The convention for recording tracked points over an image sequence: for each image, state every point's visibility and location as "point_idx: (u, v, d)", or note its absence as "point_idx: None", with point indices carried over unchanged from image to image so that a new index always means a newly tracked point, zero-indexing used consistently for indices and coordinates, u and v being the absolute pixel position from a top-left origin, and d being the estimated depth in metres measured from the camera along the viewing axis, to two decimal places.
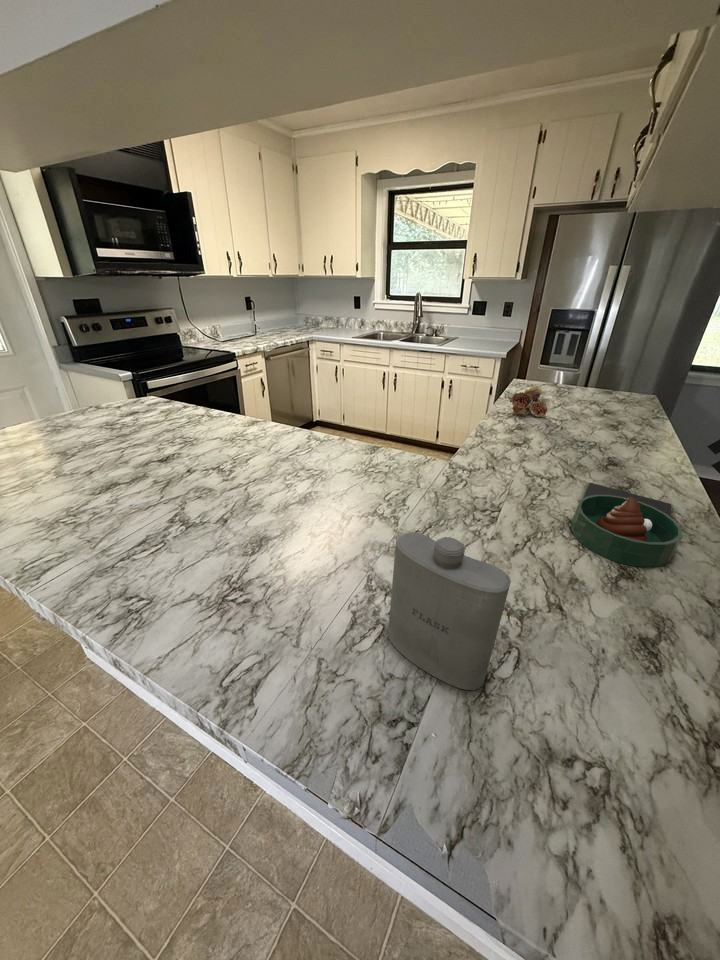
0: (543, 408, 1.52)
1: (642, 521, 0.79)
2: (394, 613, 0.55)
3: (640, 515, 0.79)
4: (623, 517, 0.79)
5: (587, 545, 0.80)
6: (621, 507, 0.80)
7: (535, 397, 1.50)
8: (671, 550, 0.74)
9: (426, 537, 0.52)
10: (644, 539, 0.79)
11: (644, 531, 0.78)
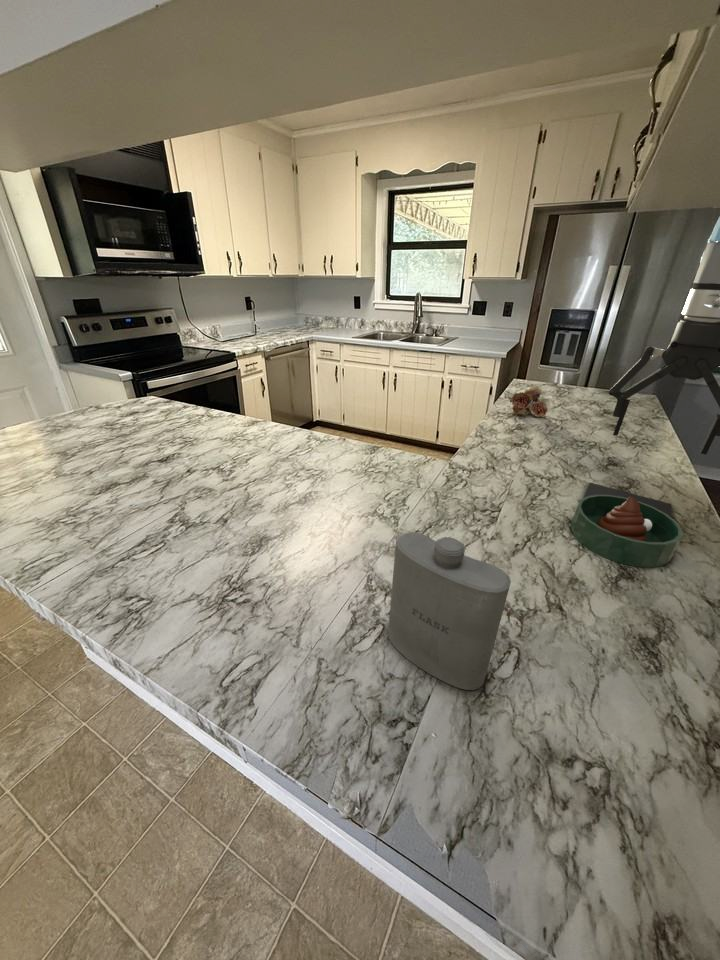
0: (543, 408, 1.52)
1: (642, 521, 0.79)
2: (394, 613, 0.55)
3: (640, 515, 0.79)
4: (623, 517, 0.79)
5: (587, 545, 0.80)
6: (621, 507, 0.80)
7: (535, 397, 1.50)
8: (671, 550, 0.74)
9: (426, 537, 0.52)
10: (644, 539, 0.79)
11: (644, 531, 0.78)
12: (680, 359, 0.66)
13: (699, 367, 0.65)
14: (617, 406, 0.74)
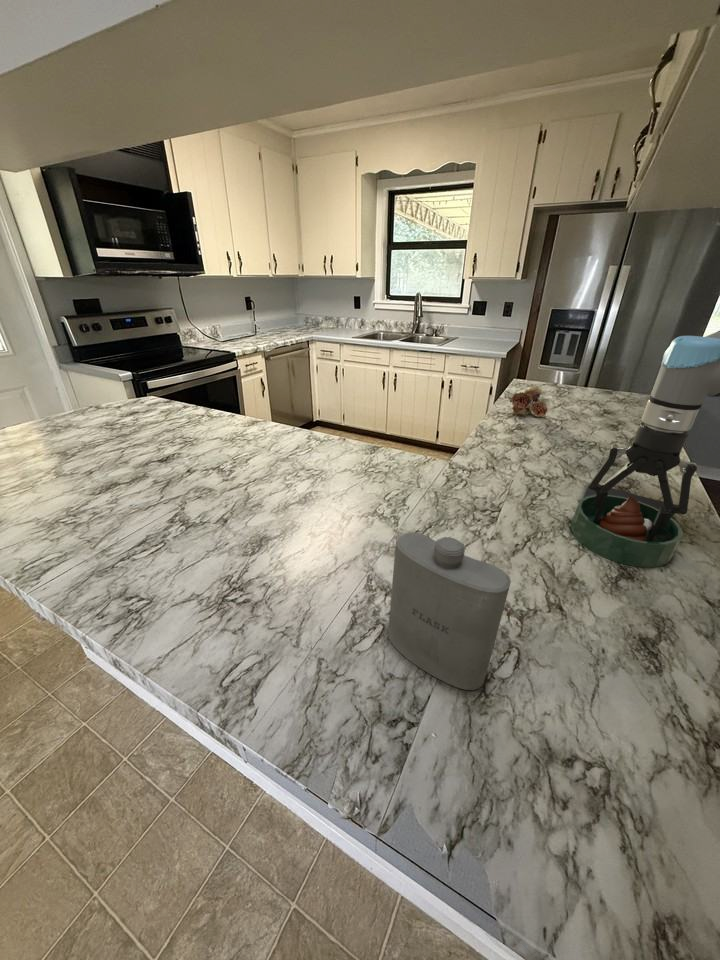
0: (543, 408, 1.52)
1: (642, 521, 0.79)
2: (394, 613, 0.55)
3: (640, 515, 0.79)
4: (623, 517, 0.79)
5: (587, 545, 0.80)
6: (621, 507, 0.80)
7: (535, 397, 1.50)
8: (671, 550, 0.74)
9: (426, 537, 0.52)
10: (644, 539, 0.79)
11: (644, 531, 0.78)
12: (640, 459, 0.74)
13: (656, 466, 0.73)
14: (596, 498, 0.82)
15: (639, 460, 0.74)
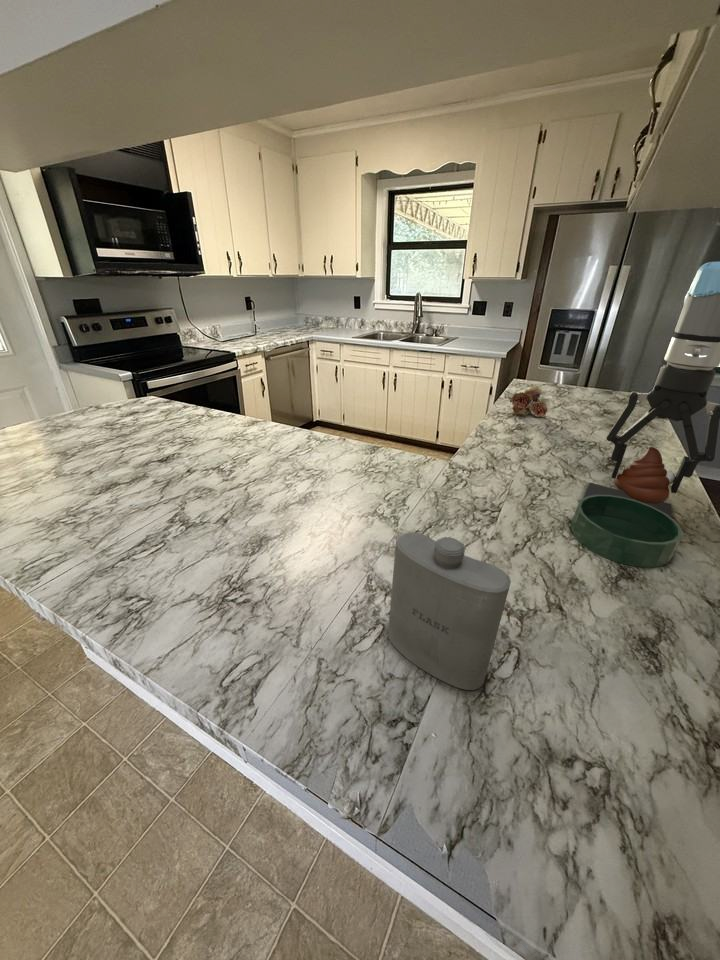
0: (543, 408, 1.52)
1: (665, 472, 0.73)
2: (394, 613, 0.55)
3: (662, 466, 0.74)
4: (644, 468, 0.74)
5: (587, 545, 0.80)
6: (641, 458, 0.75)
7: (535, 397, 1.50)
8: (671, 550, 0.74)
9: (426, 537, 0.52)
10: (667, 492, 0.74)
11: (667, 483, 0.73)
12: (663, 402, 0.69)
13: (681, 410, 0.68)
14: (615, 451, 0.77)
15: (662, 404, 0.69)
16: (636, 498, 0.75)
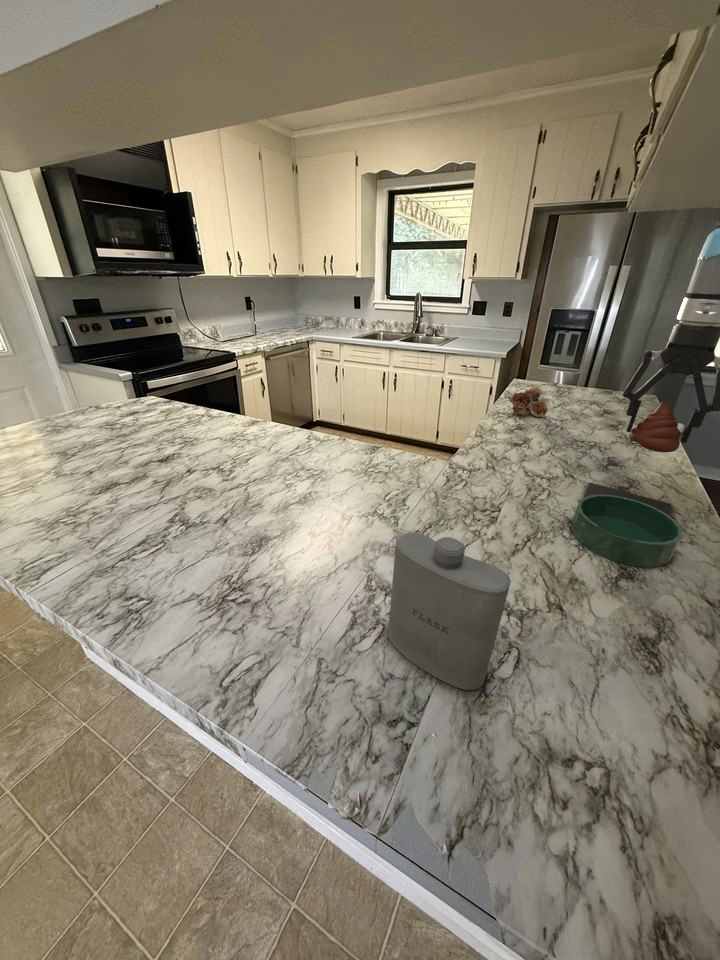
0: (543, 408, 1.52)
1: (676, 423, 0.81)
2: (394, 613, 0.55)
3: (674, 418, 0.81)
4: (657, 420, 0.82)
5: (587, 545, 0.80)
6: (655, 412, 0.83)
7: (535, 397, 1.50)
8: (671, 550, 0.74)
9: (426, 537, 0.52)
10: (678, 441, 0.81)
11: (678, 433, 0.81)
12: (676, 358, 0.77)
13: (691, 364, 0.76)
14: (630, 406, 0.85)
15: (674, 359, 0.77)
16: (650, 448, 0.83)
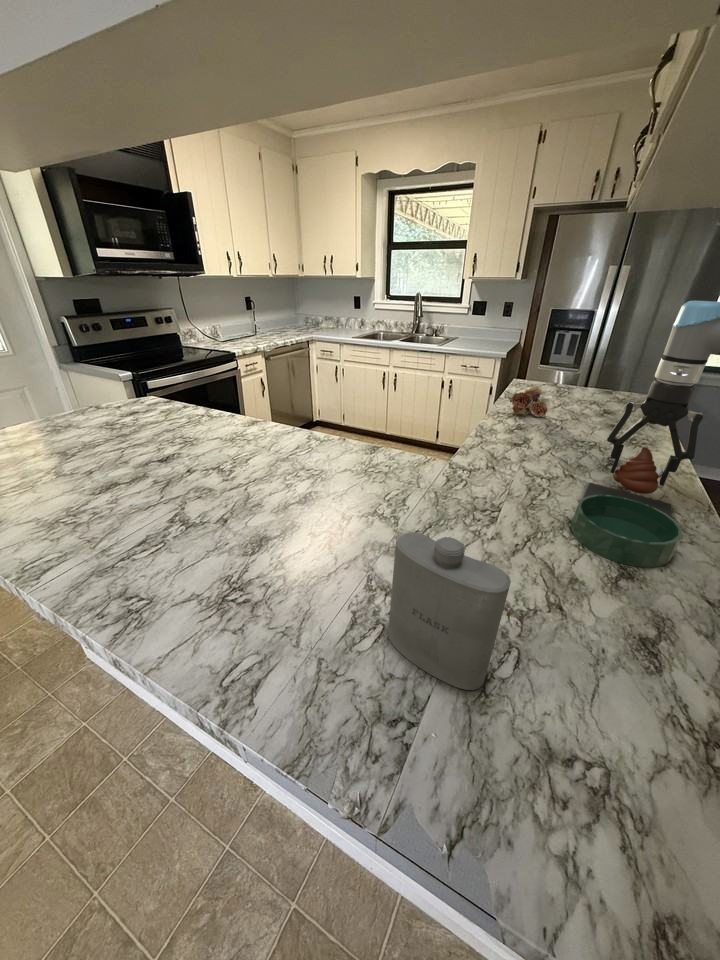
0: (543, 408, 1.52)
1: (654, 468, 0.89)
2: (394, 613, 0.55)
3: (652, 463, 0.90)
4: (637, 465, 0.90)
5: (587, 545, 0.80)
6: (636, 456, 0.91)
7: (535, 397, 1.50)
8: (671, 550, 0.74)
9: (426, 537, 0.52)
10: (656, 484, 0.90)
11: (656, 476, 0.89)
12: (653, 411, 0.85)
13: (667, 417, 0.84)
14: (613, 450, 0.93)
15: (652, 412, 0.85)
16: (631, 489, 0.91)
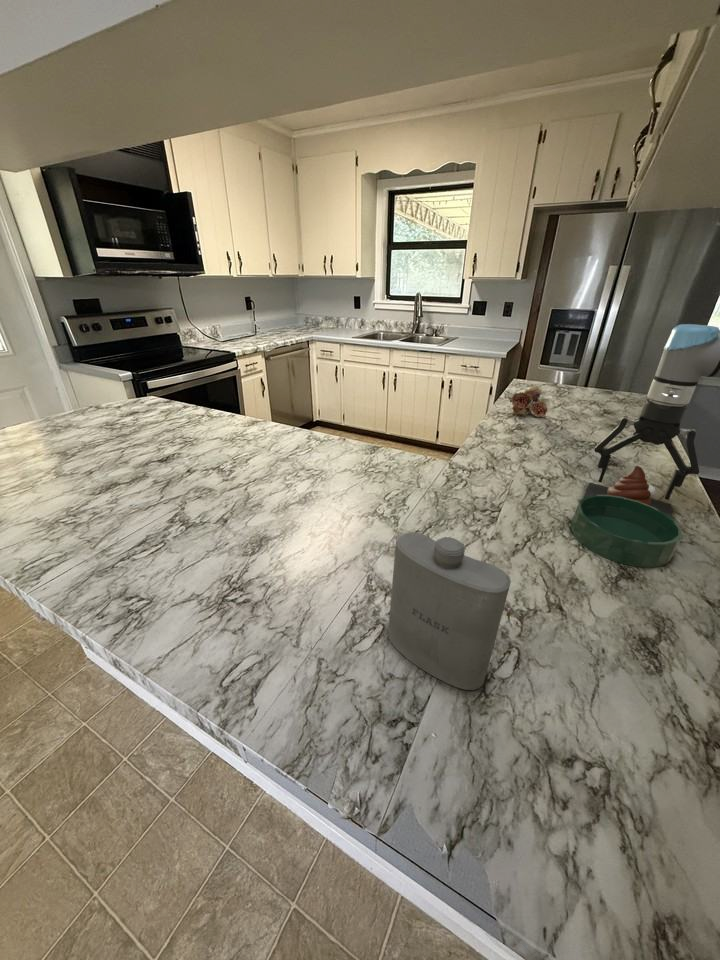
0: (543, 408, 1.52)
1: (647, 486, 0.92)
2: (394, 613, 0.55)
3: (645, 481, 0.92)
4: (630, 483, 0.92)
5: (587, 545, 0.80)
6: (629, 475, 0.93)
7: (535, 397, 1.50)
8: (671, 550, 0.74)
9: (426, 537, 0.52)
10: (648, 502, 0.92)
11: (648, 495, 0.91)
12: (647, 429, 0.87)
13: (661, 436, 0.86)
14: (601, 460, 0.96)
15: (645, 431, 0.87)
16: None
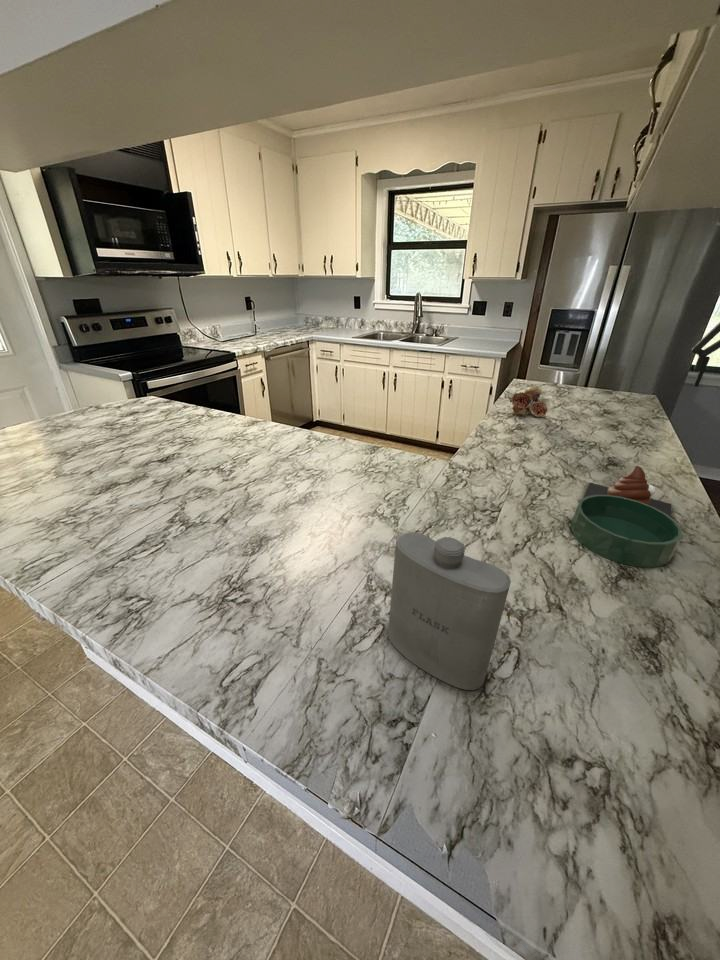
0: (543, 408, 1.52)
1: (647, 486, 0.92)
2: (394, 613, 0.55)
3: (645, 481, 0.92)
4: (630, 483, 0.92)
5: (587, 545, 0.80)
6: (629, 475, 0.93)
7: (535, 397, 1.50)
8: (671, 550, 0.74)
9: (426, 537, 0.52)
10: (648, 502, 0.92)
11: (648, 495, 0.91)
12: None
13: None
14: (698, 362, 0.92)
15: None
16: None
